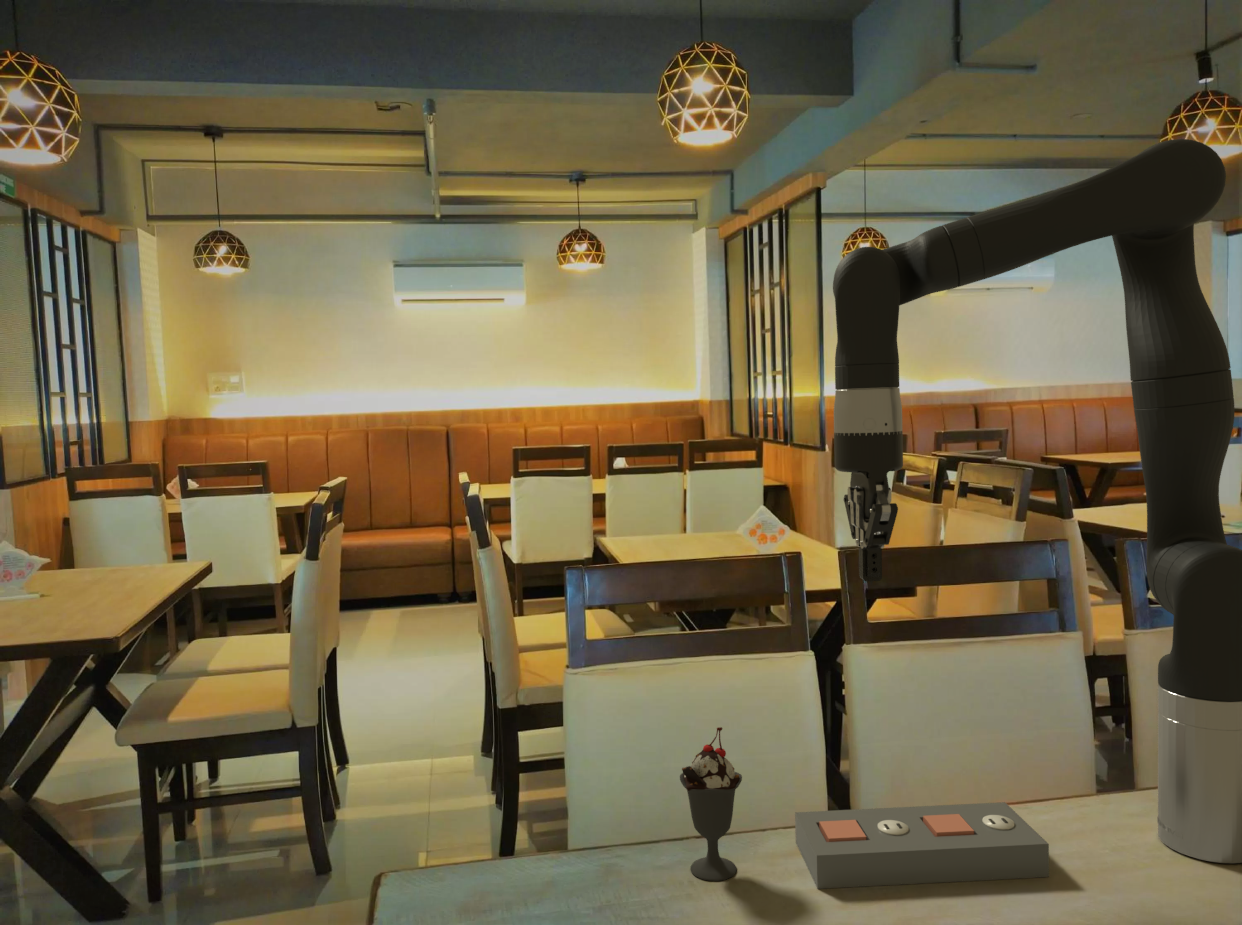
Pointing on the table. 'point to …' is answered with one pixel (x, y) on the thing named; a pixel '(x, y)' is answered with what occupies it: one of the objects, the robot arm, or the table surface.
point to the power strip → (921, 847)
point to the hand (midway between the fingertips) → (870, 579)
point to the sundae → (711, 807)
